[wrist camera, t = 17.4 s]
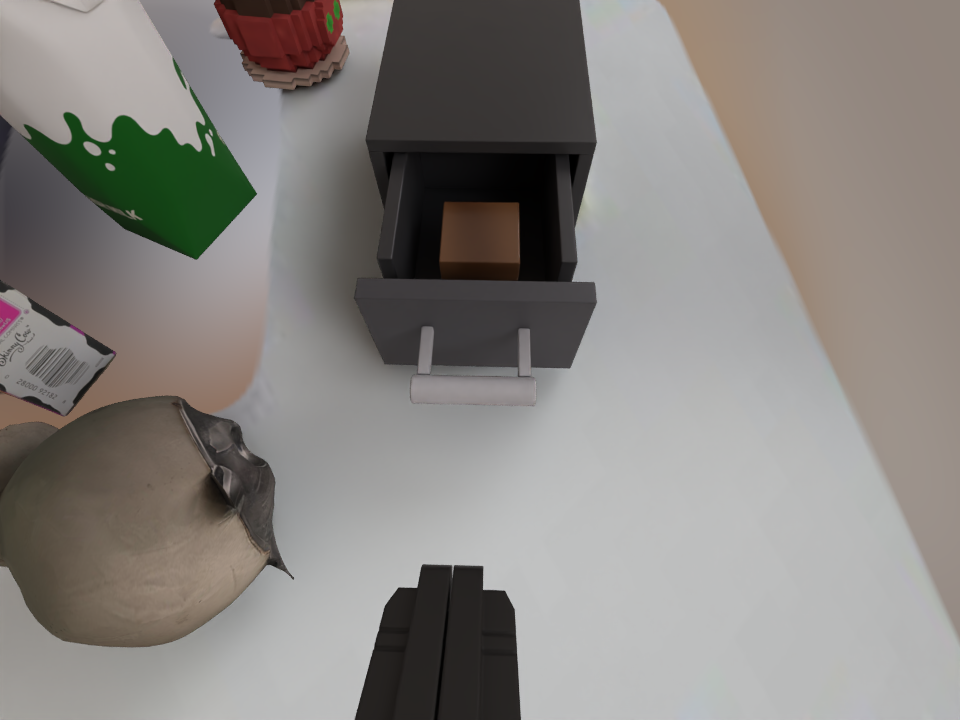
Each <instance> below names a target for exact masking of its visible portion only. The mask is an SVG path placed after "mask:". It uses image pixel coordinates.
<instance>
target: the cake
mask: <svg viewBox="0 0 960 720" xmlns="http://www.w3.org/2000/svg"><path fill="white" fill-rule="evenodd" d="M214 5H215V8H216V9H217V12H218V14H219V16H220V18H221V20H222V22H223V25H224V27H225V29H226V31H227V33H228V35H229V37H230V39H232V40H233V42H234V44H236V45H237V46H238V48H239V50H242V52H241V53H240V54H241V56H242V59H243V62H242V64H243V67H244V69H245V71H247V72H248V74H249V76H252V78H253V81H258V82H263V83H264V85H265V87H270V88H280V89H291V90H294V89H295V87H296V85H302V86H311V85H312V83H313V82H321V80H322V78H330V77H331V75H332V73H333V71H334V69H337V70H341V69H342V67H343V65H344V63H345V61H346V58H347V56H348V54H349V49H348V45H346V40H345V36H341V33H342V31H343V26H342V24H343V20H342V18H343V13H342V9H341V5H340V1H339V0H216V1H215V3H214Z"/></svg>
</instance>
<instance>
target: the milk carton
mask: <svg viewBox="0 0 960 720" xmlns="http://www.w3.org/2000/svg"><path fill="white" fill-rule="evenodd" d="M0 115H1V116H2V117H3V118H4V119H5V120H6V121H7V122H8V123H9V124H10V125H11V126H12V127H13V128H15V129H16V130H17V131H18V132H19V133H20V134H21V135H22V136H23V137H24V138H25V139H26V140H27V141H28V142H29V143H30V144H31V145H32V146H33V147H34V148H36V150H38V151H39V152H40V153H41V154H42V155H43V156H44V157H45V158H46V159H47V160H48V161H49V162H50V163H51V164H52V165H53V166H54V167H55V168H56V169H57V170H58V171H60V172H61V173H62V174H63V175H64V176H65V177H66V178H67V179H68V180H69V181H70V182H71V183H72V184H73V185H74V186H75V187H76V188H77V189H78V190H79V191H81V192H82V193H83V194H84V195H85V196H86V197H87V198H88V199H90V200H91V201H92V202H93V203H94V204H96V205H97V206H98V207H99V208H100V209H101V210H103V211H104V212H105V213H106V214H107V215H109V216H110V217H111V218H112V219H113V220H115V221H116V222H117V223H118V224H119V225H121V226H122V227H123V228H124V229H126V230H128V231H131V232H133V233H135V234H138V235H140V236H142V237H145V238H147V239H149V240H152V241H154V242H156V243H158V244H161V245H163V246H165V247H168V248H170V249H172V250H175V251H177V252H179V253H182V254H184V255H186V256H189V257H192V258H194V259H198V258H199V256H200V255H201V254H202V253H203V252H204V251H205V250H206V249H207V248H208V247H209V246H210V245H211V244H212V243H213V241H214V240H215V239H216V238H217V237H218V236H219V235H220V234H221V233H222V232H223V231H224V230H225V228H226V227H227V226H228V225H229V224H230V223H231V221H233V220H234V219H235V217H236V216H237V215H238V214H239V213H240V212H241V211H242V210H243V209H244V208H245V206H247V204H248V203H249V202H250V201H251V200H252V199H253V198H254V197H255V196H256V195H257V193H256V192H255V190H254V189H253V187H252V185H251V184H250V182H249V181H248V179H247V177H246V176H245V174H244V173H243V171H242V170H241V168H240V166H239V165H238V163H237V162H236V160H235V159H234V157H233V155H232V154H231V152H230V151H229V149H228V147H227V146H226V144H225V143H224V141H223V140H222V138H221V137H220V135H219V133H218V132H217V130H216V129H215V127H214V125H213V124H212V122H211V120H210V119H209V117H208V115H207V114H206V112H205V110H204V109H203V107H202V105H201V104H200V102H199V100H198V99H197V97H196V95H195V94H194V92H193V90H192V89H191V87H190V85H189V84H188V82H187V80H186V79H185V77H184V75H183V74H182V72H181V70H180V69H179V67H178V65H177V63H176V62H175V60H174V58H173V57H172V55H171V53H170V52H169V50H168V48H167V47H166V45H165V43H164V42H163V40H162V38H161V37H160V35H159V33H158V32H157V30H156V28H155V27H154V25H153V24H152V22H151V20H150V18H149V16H148V15H147V14H146V11H145V10H144V8H143V6H142V5H141V3H140V1H139V0H0Z"/></svg>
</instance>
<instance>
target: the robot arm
mask: <svg viewBox="0 0 960 720" xmlns="http://www.w3.org/2000/svg"><path fill="white" fill-rule="evenodd" d="M355 720H521V715H520V697H519V679H518V661H517V643H516V626H515V609H514V608H513V606H512V604H511V602H510V600H509V598H508V596H507V594H506V592H505V591H498V590H483V566H463V565H454V570H453V579H452V565H426V564H423V565H422V567H421V572H420V577H419V582H418V587H417V588H398V589H397V590H396V592H395V593H394V594H393V596H392V597H391V598H390V600H389V601H388V602H387V604H386V605H385V608H384V612H383V615H382V619H381V623H380V627H379V632H378V634H377V638H376V642H375V647H374V650H373V653H372V657H371V660H370V664H369V668H368V672H367V675H366V679H365V683H364V687H363V690H362V694H361V698H360V702H359V706H358V709H357V713H356V717H355Z"/></svg>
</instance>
